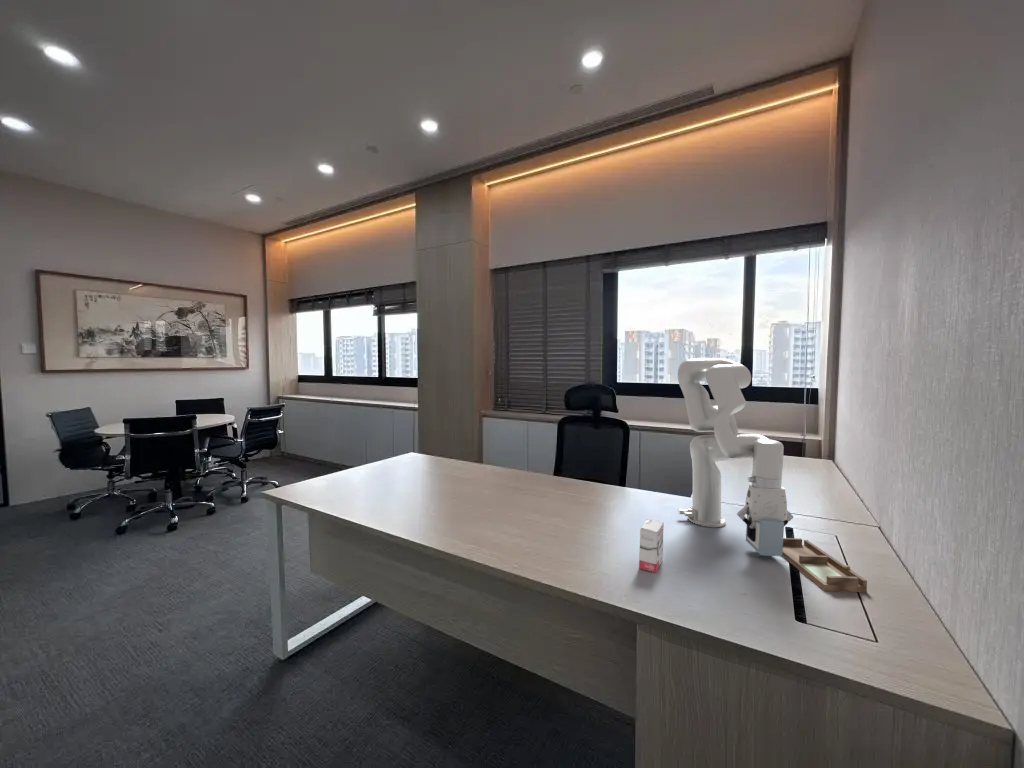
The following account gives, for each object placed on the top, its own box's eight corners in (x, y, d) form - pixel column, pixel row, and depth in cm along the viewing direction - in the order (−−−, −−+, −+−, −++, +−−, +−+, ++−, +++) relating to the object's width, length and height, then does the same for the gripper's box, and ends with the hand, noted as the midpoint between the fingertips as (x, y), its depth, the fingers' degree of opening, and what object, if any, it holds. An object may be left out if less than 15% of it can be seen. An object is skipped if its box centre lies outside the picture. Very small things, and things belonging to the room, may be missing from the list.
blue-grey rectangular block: (759, 555, 120) (761, 521, 119) (745, 540, 129) (746, 509, 128) (782, 556, 119) (784, 522, 119) (766, 541, 128) (767, 510, 127)
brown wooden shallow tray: (824, 590, 105) (824, 576, 104) (773, 548, 128) (773, 537, 128) (867, 592, 104) (867, 578, 104) (807, 549, 128) (807, 538, 127)
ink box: (657, 573, 114) (657, 531, 114) (638, 569, 117) (638, 527, 116) (663, 560, 122) (664, 521, 121) (646, 556, 124) (646, 517, 124)
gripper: (741, 485, 119) (739, 544, 121) (805, 486, 118) (801, 547, 119) (730, 476, 127) (728, 533, 128) (790, 478, 125) (786, 535, 127)
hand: (763, 539), depth 124 cm, fingers closed on blue-grey rectangular block, 6 cm apart
